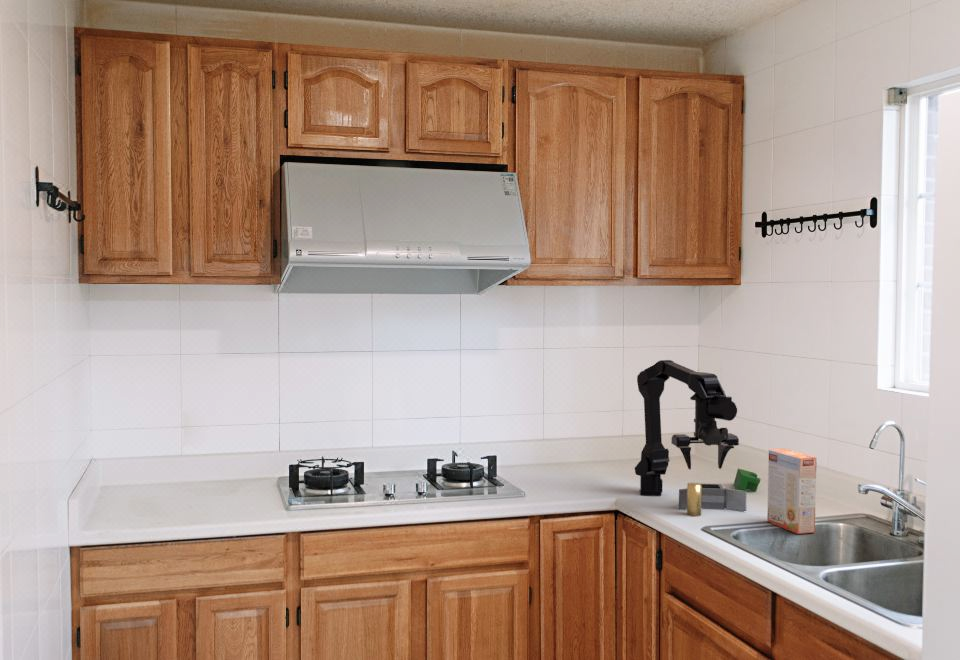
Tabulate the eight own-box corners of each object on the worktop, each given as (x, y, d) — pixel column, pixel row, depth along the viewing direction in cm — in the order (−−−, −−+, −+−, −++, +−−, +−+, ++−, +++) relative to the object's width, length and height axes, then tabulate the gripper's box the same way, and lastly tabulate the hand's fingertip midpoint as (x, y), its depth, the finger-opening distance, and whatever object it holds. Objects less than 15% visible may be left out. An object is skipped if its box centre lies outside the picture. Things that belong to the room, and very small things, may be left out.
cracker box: (816, 533, 242) (817, 456, 241) (797, 535, 241) (798, 457, 240) (784, 520, 256) (786, 447, 255) (766, 522, 254) (767, 448, 253)
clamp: (752, 505, 291) (761, 483, 287) (734, 500, 292) (742, 478, 287) (751, 484, 301) (760, 462, 297) (733, 479, 302) (741, 457, 298)
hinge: (679, 509, 268) (679, 489, 268) (676, 502, 277) (676, 482, 277) (746, 511, 265) (747, 491, 265) (741, 504, 275) (741, 484, 274)
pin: (687, 516, 261) (688, 485, 260) (686, 512, 265) (686, 482, 264) (701, 516, 260) (702, 485, 260) (700, 513, 264) (700, 482, 264)
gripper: (683, 421, 256) (682, 475, 257) (746, 419, 258) (745, 473, 258) (671, 415, 267) (670, 467, 268) (731, 414, 269) (731, 466, 270)
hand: (704, 468), depth 266 cm, fingers open, 9 cm apart
